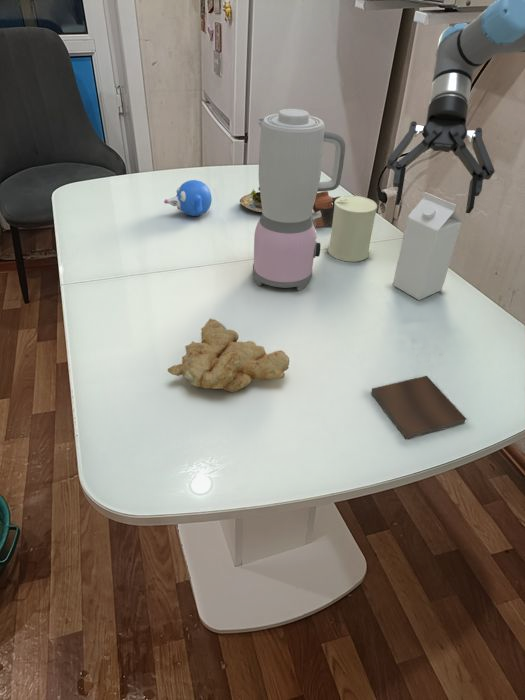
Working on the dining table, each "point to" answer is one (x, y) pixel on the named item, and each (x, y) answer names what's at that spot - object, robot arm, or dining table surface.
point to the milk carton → (427, 247)
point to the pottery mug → (324, 209)
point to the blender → (291, 195)
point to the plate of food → (252, 201)
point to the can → (352, 228)
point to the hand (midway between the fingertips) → (433, 206)
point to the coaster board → (417, 406)
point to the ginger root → (228, 360)
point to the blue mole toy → (192, 198)
